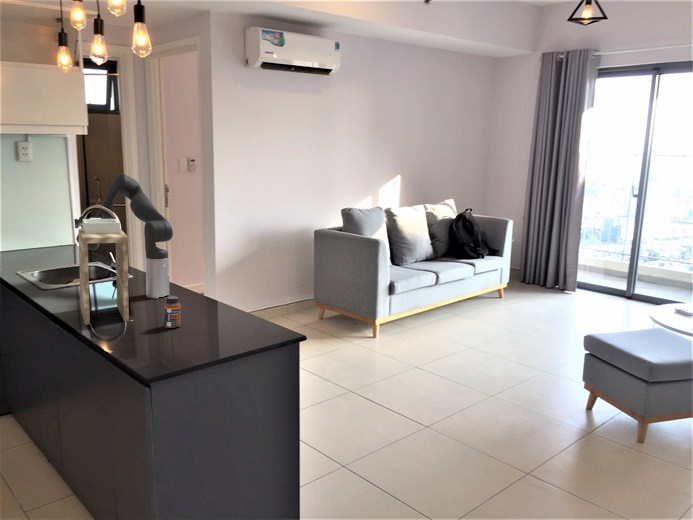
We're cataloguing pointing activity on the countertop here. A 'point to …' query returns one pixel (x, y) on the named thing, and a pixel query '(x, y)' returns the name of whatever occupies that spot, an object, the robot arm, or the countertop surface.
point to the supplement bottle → (172, 312)
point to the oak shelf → (121, 270)
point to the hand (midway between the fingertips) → (93, 217)
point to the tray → (101, 226)
